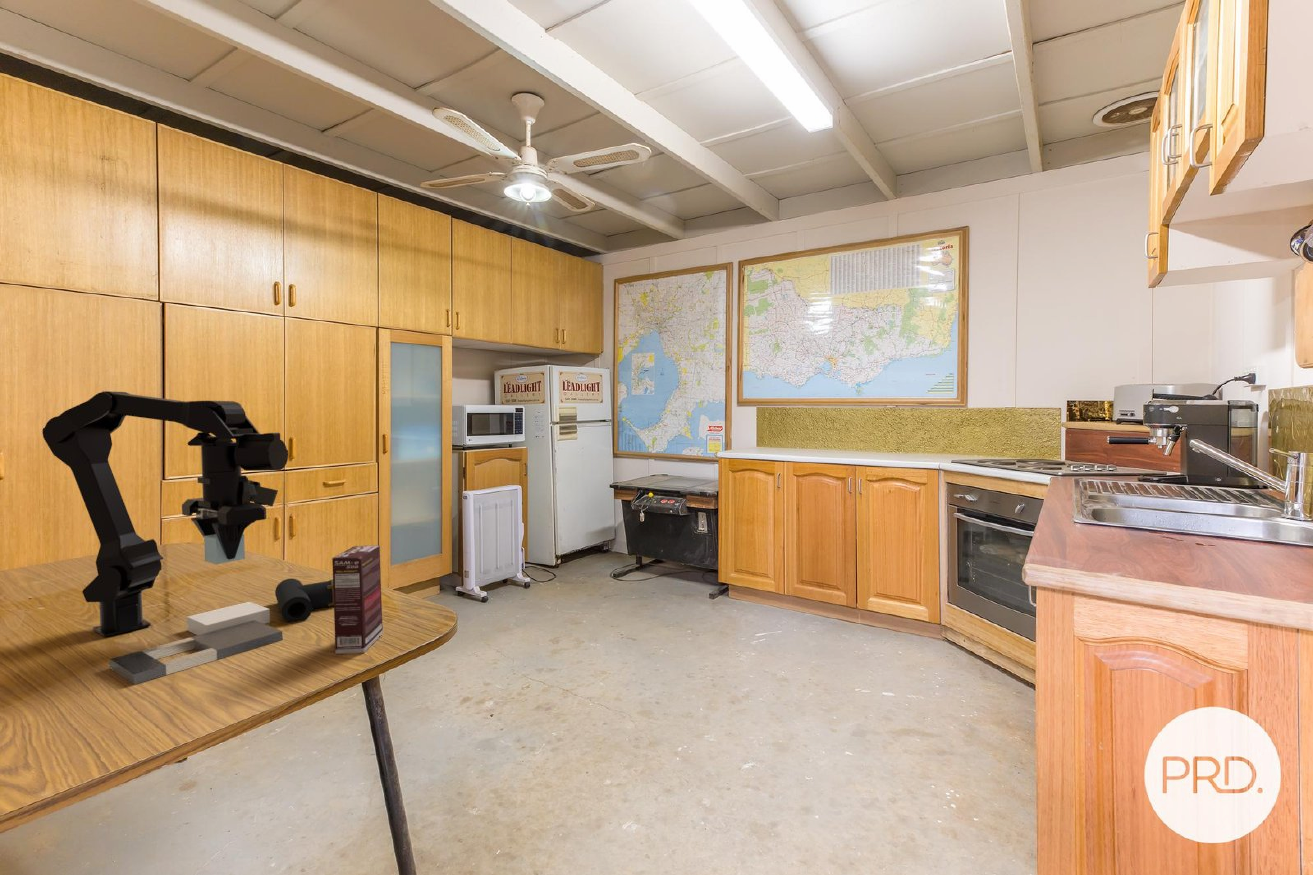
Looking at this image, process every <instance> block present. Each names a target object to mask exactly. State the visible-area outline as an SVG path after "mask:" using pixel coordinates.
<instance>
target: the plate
mask: <svg viewBox="0 0 1313 875" xmlns="http://www.w3.org/2000/svg"><path fill="white" fill-rule="evenodd" d="M283 638H284V636H283V630H280V629H278V628H276V627H273V626H272V625H271V626H270V625H268V624H267V623H266V624H263V623H260V622H258V621H255V620H253V621H249V622H246V623H242V624H238V625H235V626H231V627H227V628H223V629H220V630H216V631H212V632H208V633H205V634H201V635H194V636H190V637H187V638H183V639H179V640H175V641H172V642H168V643H164V644H160V645H157V646H152V647H149V648H145V649H141V650H138V651H134V652H131V653H126V654H122V655H120V656H116V657H112V658H109V669H110V668H112V669H113V670H114V671H115V672H114V671H113V670H112V671H113V672H114V673H116V674H117V673H118V675H119V676H120V677H122V678H123V679H125V680H127V681H128V682H130V683H131V684H133V685H138V684H142V683H145V682H149V681H151V679H152V680H154V678H155V679H158V678H161V677H164V676H168V675H171V674H175V673H178V672H181V671H184V670H188V669H190V668H194V667H198V666H201V665H204V664H207V663H210V662H214V661H218V660H220V659H223V658H227V657H231V656H235V655H237V654H240V653H244V652H247V651H250V650H253V649H257V648H260V647H263V646H267V645H270V644H273V643H278V642H280V641H282V640H284V639H283ZM193 649H194V650H196V652H193V653H189V654H186V655H183V656H178V657H175V658H173V659H172V658H171V659H169V660H165V661H159V659H162V658H165V657H169V656H173V655H176V654H177V655H178V654H181V653H184V652H187V651H191V650H193ZM197 650H198V651H197ZM141 682H142V683H141Z"/></svg>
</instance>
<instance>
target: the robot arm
mask: <svg viewBox="0 0 1313 875" xmlns="http://www.w3.org/2000/svg"><path fill="white" fill-rule="evenodd" d="M126 417H136V418H143V419H151V420H157V421H158V420H159V421H164V422H174V423H177V424H180V425H182V426H185V427H186V428H188V429H191V430H194V431H197V434H196V435H195V436H194V437H193V438H191V439H190V440H189V441H187V446H189V447H198V446H199V447H200V450H201V451H200V452H201V453H200V454H201V457H200V458H201V476H197V479H196V480H197V484H202V485H201V486H202V497H197V498H196V497H195V498H188V499H186V500H185V501H184V502H183V503H182V504H181V515H183V516H186V517H190V516H191V518H190V520H191V522H193V524H194V525H195V527H196V528H197V530H198V531H199V533H200V534H201V535H202V537H203V538H204V536H207V535H214V534H216V535H217V537H218V540H219V542H220V544H221V547H222V549H223V551H224V553H225V555H226V558H227V559H234V558H235V556H236V553H237V550H238V547H239V544H240V541H241V538H242V535H243V534H244V532H245V530H246V529H247V528H248V527H249V526H250V525H251V524H255V522H257V521H263V520H266V519H267V508H266V507H265V506H269V507H273V506H274V503H275V500H276V498H277V496H278V492H279V490H278V489H273V488H269V487H265V486H262V485H261V482H259V481H254V480H251V479H249V477H247V475H244V474H243V475H242V470H244V471H246V472H247V471H254V472H256V471H257V472H258V471H261V472H262V471H264V472H265V471H267V472H269V471H274V472H275V471H276V472H277V471H281V470H283V469H284V468H285V466H286V465H287V464H288V459H289V450H288V449H287V446H286V444H285V442H284V441H283V440H282V439H281V433H280V432H266V433H260V432H259V431H258V428H256V427H255V425H254V424H253V423H252V422H251V420H250V419H249V418H248V417H247V415H246V411H245V410H244V408H243V406H242V404H241V403H239V402H237V401H234V400H191V401H190V400H188V401H183V400H176V399H171V398H170V399H168V398H162V397H155V396H148V395H147V396H146V395H140V394H139V395H138V394H132V393H129V392H125V391H109V390H107V391H106V390H105V391H101V392H97V393H96V394H94V395H93V396H92V397H91V398H89V399H88V400H86V401H84V402H82V403H80V404H78V405H75V406H73V407H71V408H68V409H66V410H64V411H63V412H61V414H59V415H57V416H54V417H52V418H50V419H49V420H48V421H47V422H46V423H45V426H44V427H42V431H41V432H42V437H43V440H44V441H45V443H46V445H47V446H48V448H49V450H50V451H51V453H52V454H53V456H55V457H56V458H57V459H58V460H60V461H61V462H62V463H64V464H65V465H66V466H68V467H69V468H70V470H71V472H72V475H73V478H74V479H75V482H76V485H77V488H78V490H79V493H80V495H81V497H82V500H83V503H84V506H85V508H86V511H87V513H88V516H89V519H90V521H91V523H92V525H93V528H94V531H95V533H96V536H97V539H98V541H99V545H100V546H99V549H98V552H97V556H96V559H95V566H96V571H97V574H98V575H97V576H96V577H95V578H93V579H92V581H91V582H90V583H89V584H87V585H86V586H85V588H83V590H82V591H81V592H82V594H83V595H82V596H83V597H84V599H85V602H86V603H99V623H100V624H99V625H96V626H93V627H92V630H93V632H95V633H97V634H99V635H100V636H102V637H104V638H105V637H110V636H115V635H119V634H124V633H127V632H132V631H135V630H140V629H144V628H148V627H150V626H151V624H152V623H151V622H149V621H148V620H145V619H143V618H144V617H143V597H142V592H143V591H145V590H149V589H152V588H153V587H154V584H155V581H156V578H157V577H158V575H159V574H160V571H162V562H161V560H163V559H164V557H163V556H162V555H161V554H160V552H159V548H158V544H157V542H156V540H155V539H153V538H151V539H147V540H145V539H144V538H142V537H141V536H140V535H138V534H137V532H136V530H135V528H134V525H133V522H132V520H131V517H130V515H129V512H128V509H127V507H126V504H125V502H124V501H125V500H124V499H123V497H122V494H121V491H120V488H119V486H118V483H117V481H116V478H115V476H114V473H113V471H112V468H111V466H110V463H109V457H110V454H111V450H112V447H113V440H112V436H111V434H112V433H113V432H114V431H116V430H117V429H119V428H120V427H121V426H122V424H123V422H124V421H125V418H126ZM234 440H235V441H234ZM193 514H195V516H196V517H192V516H193Z"/></svg>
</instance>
